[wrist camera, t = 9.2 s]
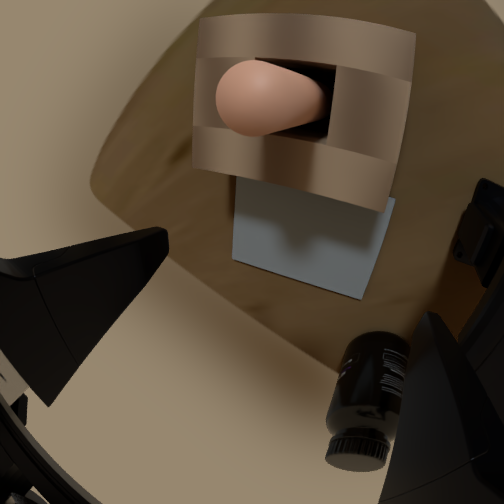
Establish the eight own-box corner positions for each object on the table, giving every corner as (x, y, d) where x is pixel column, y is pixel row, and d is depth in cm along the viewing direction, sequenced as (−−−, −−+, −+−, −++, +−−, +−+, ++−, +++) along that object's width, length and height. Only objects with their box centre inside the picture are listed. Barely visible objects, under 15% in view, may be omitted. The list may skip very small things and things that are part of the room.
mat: (394, 198, 18) (395, 200, 18) (361, 297, 23) (361, 299, 22) (239, 160, 22) (237, 161, 21) (234, 256, 26) (232, 258, 26)
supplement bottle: (335, 336, 26) (297, 445, 17) (402, 320, 22) (390, 444, 13) (357, 377, 28) (329, 475, 18) (416, 367, 24) (404, 474, 14)
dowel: (336, 83, 16) (295, 62, 8) (330, 125, 17) (286, 142, 10) (293, 77, 17) (218, 59, 9) (288, 117, 18) (213, 131, 10)
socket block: (407, 51, 12) (416, 33, 9) (383, 188, 18) (384, 213, 14) (237, 31, 16) (199, 18, 12) (228, 152, 22) (192, 167, 18)
